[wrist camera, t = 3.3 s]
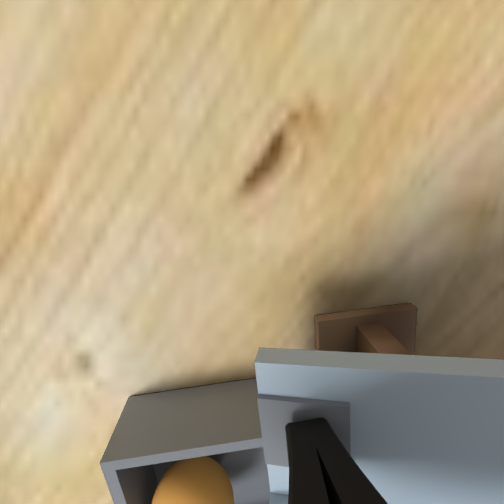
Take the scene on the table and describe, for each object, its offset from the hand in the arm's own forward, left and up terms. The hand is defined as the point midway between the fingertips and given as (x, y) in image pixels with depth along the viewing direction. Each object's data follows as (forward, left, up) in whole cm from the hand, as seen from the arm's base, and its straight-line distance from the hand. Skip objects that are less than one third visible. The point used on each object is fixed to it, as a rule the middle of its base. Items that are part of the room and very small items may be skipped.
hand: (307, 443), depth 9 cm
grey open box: (+3, +7, -5) cm, 9 cm away
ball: (+5, +7, -3) cm, 9 cm away
